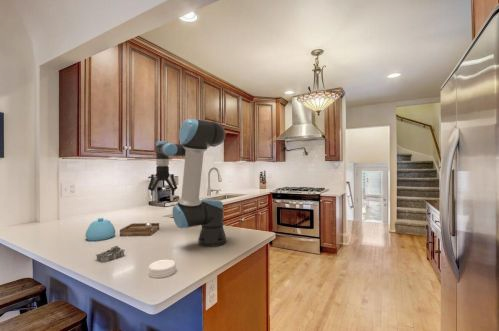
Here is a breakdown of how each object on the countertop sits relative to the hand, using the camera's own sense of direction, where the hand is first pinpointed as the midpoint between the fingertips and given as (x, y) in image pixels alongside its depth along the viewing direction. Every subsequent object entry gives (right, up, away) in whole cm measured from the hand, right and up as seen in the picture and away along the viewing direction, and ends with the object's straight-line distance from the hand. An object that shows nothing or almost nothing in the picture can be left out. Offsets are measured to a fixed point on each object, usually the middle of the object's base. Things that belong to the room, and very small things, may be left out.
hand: (162, 200), depth 155 cm
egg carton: (-8, -20, -44) cm, 49 cm away
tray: (-14, -20, -1) cm, 24 cm away
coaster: (+21, -20, -60) cm, 66 cm away
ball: (-9, -17, 0) cm, 20 cm away
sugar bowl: (-33, -20, -11) cm, 40 cm away
